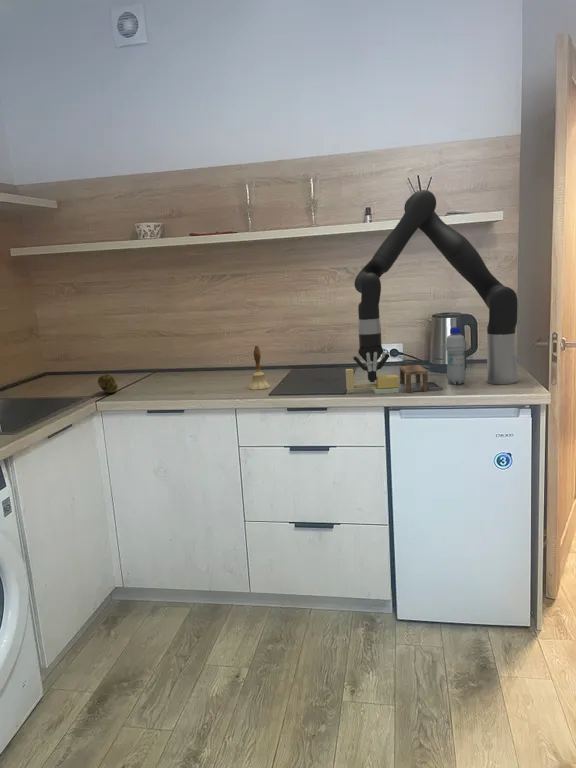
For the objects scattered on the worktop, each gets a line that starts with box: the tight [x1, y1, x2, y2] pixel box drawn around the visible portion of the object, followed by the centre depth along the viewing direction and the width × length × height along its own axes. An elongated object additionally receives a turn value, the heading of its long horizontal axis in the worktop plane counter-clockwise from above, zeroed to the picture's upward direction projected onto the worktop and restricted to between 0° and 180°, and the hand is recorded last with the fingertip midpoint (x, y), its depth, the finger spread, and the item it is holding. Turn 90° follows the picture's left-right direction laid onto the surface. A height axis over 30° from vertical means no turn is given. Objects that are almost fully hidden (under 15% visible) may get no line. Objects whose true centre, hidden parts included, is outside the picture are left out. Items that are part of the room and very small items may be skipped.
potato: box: [97, 374, 119, 394], centre depth 246 cm, size 8×13×8 cm, turn 174°
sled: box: [345, 368, 400, 391], centre depth 218 cm, size 18×5×7 cm, turn 91°
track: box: [371, 382, 423, 395], centre depth 219 cm, size 18×8×1 cm, turn 92°
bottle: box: [445, 326, 466, 386], centre depth 221 cm, size 7×7×20 cm
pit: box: [420, 381, 444, 392], centre depth 219 cm, size 5×11×1 cm, turn 2°
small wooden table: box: [399, 364, 429, 394], centre depth 219 cm, size 7×12×7 cm, turn 1°
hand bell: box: [248, 345, 271, 391], centre depth 238 cm, size 8×8×16 cm
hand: (372, 381), depth 218 cm, fingers closed
